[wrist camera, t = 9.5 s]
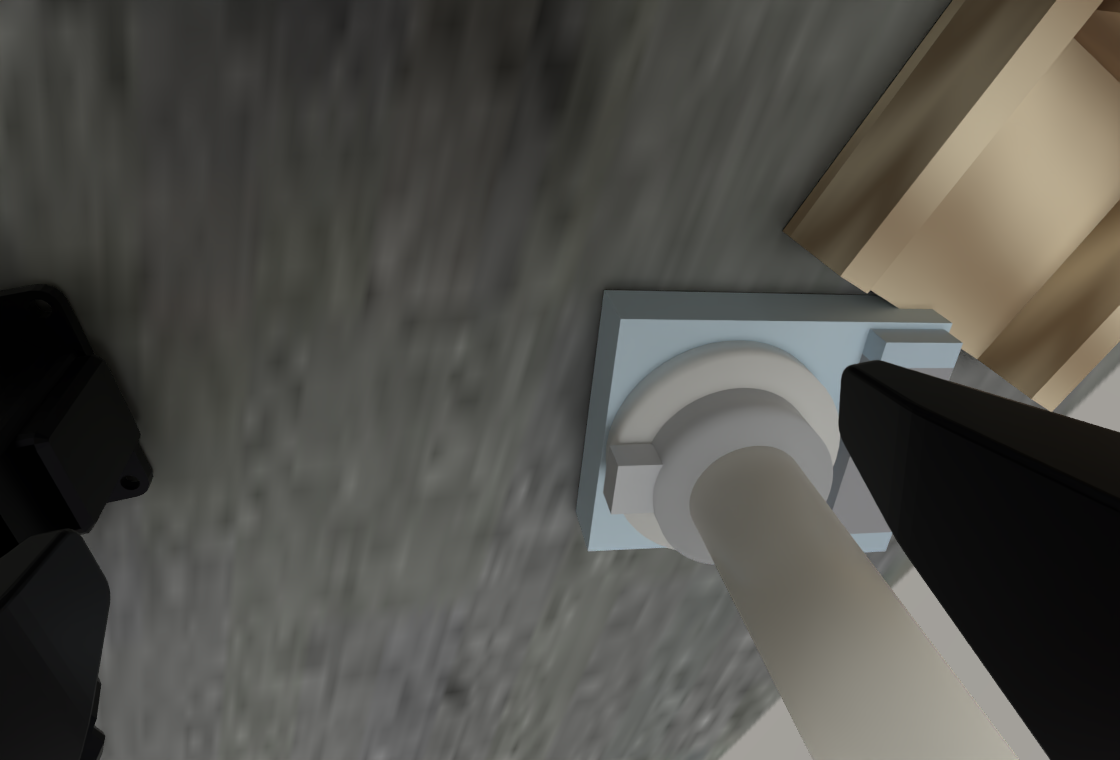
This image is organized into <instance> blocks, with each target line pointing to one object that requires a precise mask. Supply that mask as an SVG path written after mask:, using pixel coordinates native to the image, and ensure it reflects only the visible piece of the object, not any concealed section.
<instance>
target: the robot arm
mask: <svg viewBox="0 0 1120 760" xmlns="http://www.w3.org/2000/svg"><path fill="white" fill-rule="evenodd" d="M35 299H37V300H43V301H45V302H47V303H48V304H49V305H50V306H51V309H52V311H51V312H48V311H43V310H41V309H39V307H38V306H37V305H36V303H35ZM838 426H839V432H840V436H841V439H842V442H843V444H844V446H845V447H846V449H847V451H848V453H849V455H850V457H851V459H852V460H853V462H854V464H855V466H856V468H857V470H858V471H859V473H860V475H861V477H862V479H863V481H864V482H865V484H866V486H867V488H868V490H869V492H870V494H871V495H872V497H873V499H874V501H875V503H876V505H877V506H878V508H879V510H880V512H881V514H882V516H883V517H884V519H885V521H886V523H887V525H888V527H889V528H890V530H891V532H892V533H893V535H894V537H895V539H896V540H897V542H898V543H899V545H900V546H901V548H902V549H903V551H904V552H905V554H906V555H907V557H908V558H909V560H910V561H911V562H912V564H913V565H914V567H915V568H916V569H917V571H918V572H919V574H920V575H921V577H922V578H923V580H924V581H925V582H926V584H927V585H928V587H929V588H930V590H931V591H932V592H933V594H934V595H935V596H936V598H937V599H938V601H939V602H940V604H941V605H942V607H943V608H944V609H945V611H946V612H947V614H948V615H949V616H950V618H951V619H952V621H953V622H954V624H955V625H956V626H957V628H958V629H959V631H960V632H961V634H962V635H963V636H964V638H965V639H966V641H967V642H968V644H969V645H970V646H971V648H972V649H973V651H974V652H975V654H976V655H977V656H978V658H979V659H980V661H981V662H982V663H983V665H984V666H985V668H986V669H987V671H988V672H989V673H990V675H991V676H992V678H993V679H994V681H995V682H996V683H997V685H998V686H999V688H1000V689H1001V691H1002V692H1003V693H1004V695H1005V696H1006V698H1007V699H1008V700H1009V702H1010V703H1011V705H1012V706H1013V707H1014V709H1015V710H1016V712H1017V713H1018V715H1019V716H1020V717H1021V719H1022V720H1023V722H1024V723H1025V725H1026V726H1027V727H1028V729H1029V730H1030V731H1031V733H1032V734H1033V736H1034V737H1035V739H1036V740H1037V742H1038V743H1039V744H1040V746H1041V747H1042V749H1043V750H1044V752H1045V753H1046V754H1047V756H1048V757H1049V759H1050V760H1120V432H1117V431H1113V430H1110V429H1107V428H1103V427H1100V426H1097V425H1093V424H1090V423H1087V422H1084V421H1080V420H1077V419H1074V418H1070V417H1067V416H1064V415H1060V414H1057V413H1054V412H1050V411H1047V410H1044V409H1041V408H1037V407H1034V406H1031V405H1027V404H1024V403H1021V402H1017V401H1014V400H1011V399H1007V398H1004V397H1001V396H998V395H994V394H991V393H988V392H984V391H981V390H978V389H974V388H971V387H968V386H964V385H961V384H958V383H954V382H951V381H948V380H945V379H941V378H938V377H935V376H931V375H928V374H925V373H921V372H918V371H915V370H911V369H908V368H905V367H902V366H898V365H895V364H892V363H888V362H885V361H882V360H872V361H867V362H862V363H857V364H853V365H849V366H847V367H846V368H845V369H844V370H843V373H842V376H841V385H840V401H839V418H838ZM140 436H141V434H140V431H139V429H138V427H137V425H136V423H135V421H134V419H133V417H132V415H131V413H130V411H129V409H128V407H127V405H126V403H125V401H124V399H123V396H122V394H121V392H120V390H119V388H118V386H117V384H116V382H115V380H114V378H113V376H112V374H111V372H110V370H109V368H108V366H107V364H106V362H105V361H104V360H103V359H101V358H100V357H98V356H97V355H95V354H94V353H93V351H92V349H91V347H90V345H89V343H88V341H87V339H86V337H85V335H84V333H83V330H82V328H81V326H80V324H79V322H78V320H77V318H76V316H75V314H74V312H73V310H72V308H71V306H70V304H69V302H68V300H67V298H66V297H65V296H64V294H63V293H62V292H61V291H60V290H58V289H57V288H55V287H53V286H50V285H46V284H37V285H31V286H26V287H20V288H15V289H9V290H4V291H0V760H100V757H101V755H102V752H103V746H104V740H105V735H104V733H103V732H102V731H101V730H100V729H98V728H97V727H96V726H94V725H95V722H96V719H97V712H98V704H99V697H100V689H101V682H100V680H99V678H98V673H99V667H100V661H101V655H102V649H103V643H104V637H105V631H106V624H107V618H108V612H109V606H110V589H109V585H108V582H107V580H106V577H105V576H104V574H103V572H102V571H101V569H100V567H99V565H98V564H97V562H96V560H95V558H94V557H93V555H92V553H91V552H90V550H89V548H88V546H87V545H86V543H85V541H84V540H83V538H82V537H81V535H82V534H86V533H89V532H90V531H91V530H92V528H93V527H94V525H95V524H96V522H97V520H98V518H99V516H100V514H101V512H102V510H103V508H104V506H105V505H106V503H108V502H113V501H118V500H123V499H127V498H132V497H137V496H140V495H142V494H144V493H145V492H146V491H147V490H148V488H149V486H150V484H151V482H152V478H153V474H152V470H151V468H150V466H149V464H148V462H147V460H146V458H145V456H144V454H143V452H142V450H141V448H140V446H139V444H138V440H139V438H140ZM125 476H134V477H136V478H137V479H138V480H139V481H138V482H132V481H130V480H128V479H127V478H126V477H125Z"/></svg>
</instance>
